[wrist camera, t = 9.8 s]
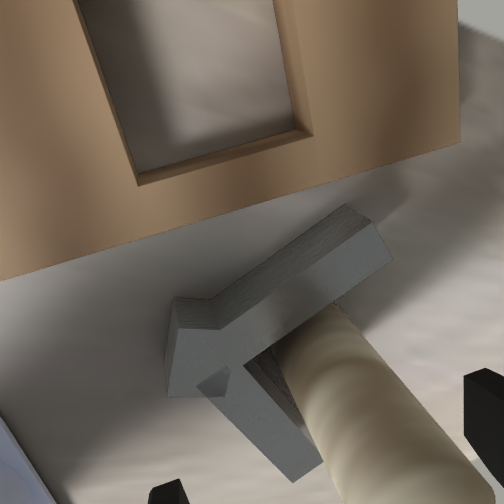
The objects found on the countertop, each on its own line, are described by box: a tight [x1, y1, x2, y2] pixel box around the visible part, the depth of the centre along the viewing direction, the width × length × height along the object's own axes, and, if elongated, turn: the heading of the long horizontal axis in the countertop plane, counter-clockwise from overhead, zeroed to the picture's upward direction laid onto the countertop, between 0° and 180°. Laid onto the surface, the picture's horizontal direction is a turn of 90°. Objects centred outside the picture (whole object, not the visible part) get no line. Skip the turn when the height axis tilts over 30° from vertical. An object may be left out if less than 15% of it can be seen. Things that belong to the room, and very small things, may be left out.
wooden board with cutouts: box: [0, 0, 460, 281], centre depth 15 cm, size 18×10×2 cm, turn 103°
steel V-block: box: [164, 204, 393, 483], centre depth 20 cm, size 8×13×2 cm, turn 168°
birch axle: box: [270, 303, 495, 504], centre depth 17 cm, size 4×4×10 cm
